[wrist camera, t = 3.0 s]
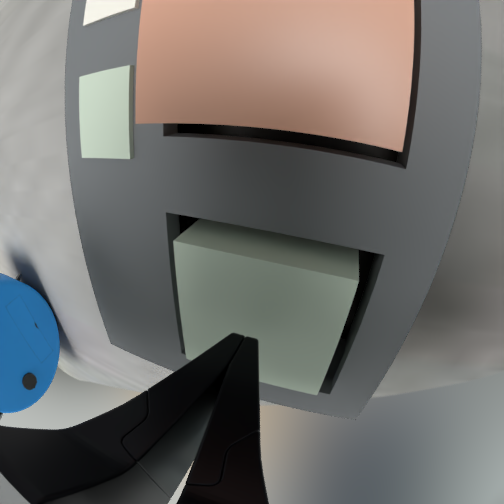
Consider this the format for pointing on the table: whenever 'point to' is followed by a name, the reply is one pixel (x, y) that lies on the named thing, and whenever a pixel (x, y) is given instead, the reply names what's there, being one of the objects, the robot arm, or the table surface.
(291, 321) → the sage key
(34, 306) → the alarm clock
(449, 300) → the table surface
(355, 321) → the console
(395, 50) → the terracotta key
